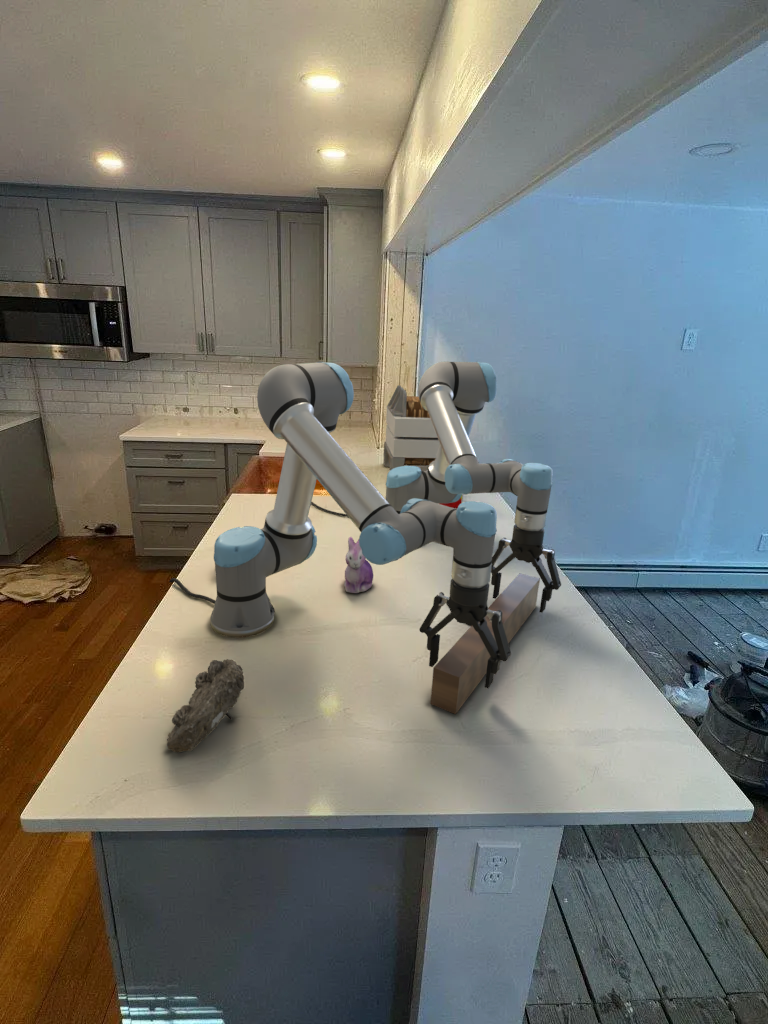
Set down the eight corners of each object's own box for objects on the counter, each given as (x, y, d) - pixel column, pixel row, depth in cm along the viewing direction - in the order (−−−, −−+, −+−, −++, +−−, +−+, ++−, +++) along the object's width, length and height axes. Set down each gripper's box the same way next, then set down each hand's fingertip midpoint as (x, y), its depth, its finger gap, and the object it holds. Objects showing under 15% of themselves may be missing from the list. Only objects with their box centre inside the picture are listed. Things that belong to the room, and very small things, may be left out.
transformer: (382, 463, 289) (386, 382, 275) (445, 464, 293) (451, 384, 279) (390, 482, 257) (394, 392, 243) (460, 483, 261) (468, 394, 247)
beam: (515, 601, 157) (519, 572, 154) (535, 607, 154) (540, 578, 151) (430, 703, 114) (433, 667, 111) (455, 714, 112) (459, 677, 109)
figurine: (350, 597, 154) (351, 546, 149) (335, 581, 163) (336, 533, 158) (381, 591, 159) (383, 541, 153) (365, 576, 167) (367, 528, 162)
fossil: (192, 660, 117) (244, 628, 112) (224, 691, 120) (276, 661, 115) (142, 746, 98) (202, 712, 93) (182, 779, 101) (242, 748, 96)
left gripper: (406, 571, 113) (401, 662, 121) (524, 606, 102) (509, 705, 109) (424, 558, 119) (417, 646, 127) (536, 590, 108) (522, 685, 115)
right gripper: (478, 519, 143) (470, 595, 150) (574, 542, 132) (561, 623, 139) (489, 511, 149) (480, 585, 157) (582, 532, 138) (568, 611, 145)
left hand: (460, 673), depth 118 cm, fingers open, 12 cm apart
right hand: (518, 603), depth 148 cm, fingers open, 12 cm apart
